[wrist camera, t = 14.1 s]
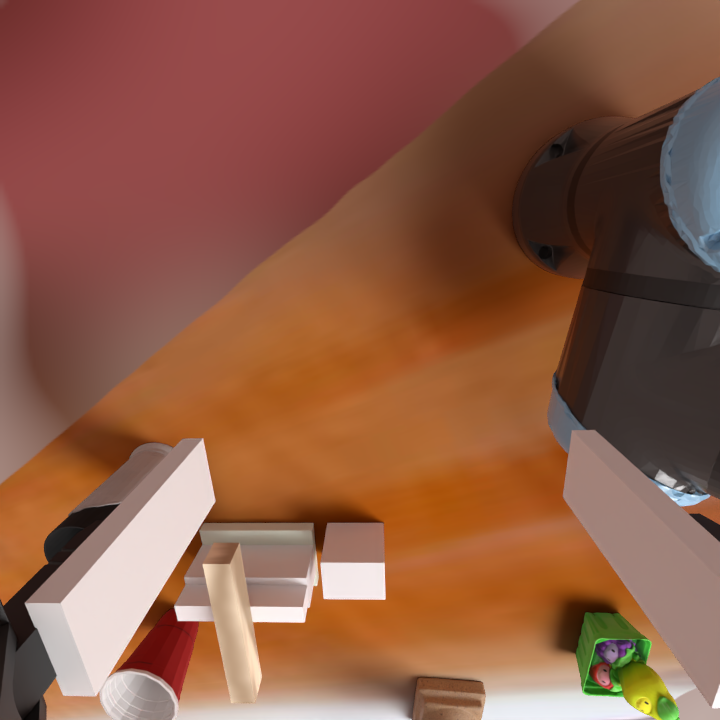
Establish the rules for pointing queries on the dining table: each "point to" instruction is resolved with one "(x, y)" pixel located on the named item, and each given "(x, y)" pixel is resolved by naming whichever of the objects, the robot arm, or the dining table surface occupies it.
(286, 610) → the ridge stand
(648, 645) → the fruit basket
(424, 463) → the dining table surface
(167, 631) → the plastic cup
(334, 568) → the rest block
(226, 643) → the birch batten
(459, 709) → the candle holder
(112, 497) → the glass holder
